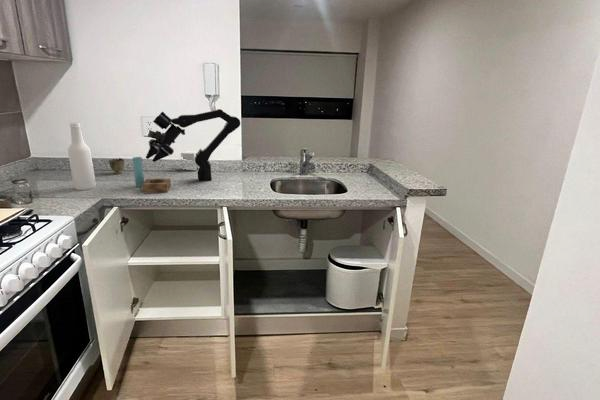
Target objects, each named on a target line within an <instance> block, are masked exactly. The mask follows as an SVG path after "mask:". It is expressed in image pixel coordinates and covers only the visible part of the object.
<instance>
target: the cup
mask: <svg viewBox="0 0 600 400" xmlns="http://www.w3.org/2000/svg"><path fill="white" fill-rule="evenodd" d="M108 163H109V167H110V169H111V170H112V171H113V172H114V174H116V175H119V174H120V173H121V174H122V172H123V170H124V167H125V166H124V165H125V159H124V158H119V157H117V158H110V159H108Z"/></svg>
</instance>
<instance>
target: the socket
mask: <svg viewBox="0 0 600 400" xmlns="http://www.w3.org/2000/svg"><path fill="white" fill-rule="evenodd" d="M171 183H172V182H171V178H146V179H144V183H143V184H142V187H141V189H142V193H143V194H153V193H154V194H155V193H156V194H157V193H168V192H169V190H170V188H171V187H172V186H171V185H172V184H171Z"/></svg>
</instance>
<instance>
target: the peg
mask: <svg viewBox="0 0 600 400" xmlns="http://www.w3.org/2000/svg"><path fill="white" fill-rule="evenodd" d="M132 163H133V164H132V165H133V174H134V182H135V187H136V188H142V184H143V183H144V182H145V173H144V167H143V164H144V163H143V157H141V156H134V157H132Z"/></svg>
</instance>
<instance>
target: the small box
mask: <svg viewBox="0 0 600 400" xmlns="http://www.w3.org/2000/svg"><path fill="white" fill-rule="evenodd" d="M180 157H183V159H186V160H192V161H195V153H182V152H180Z"/></svg>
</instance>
